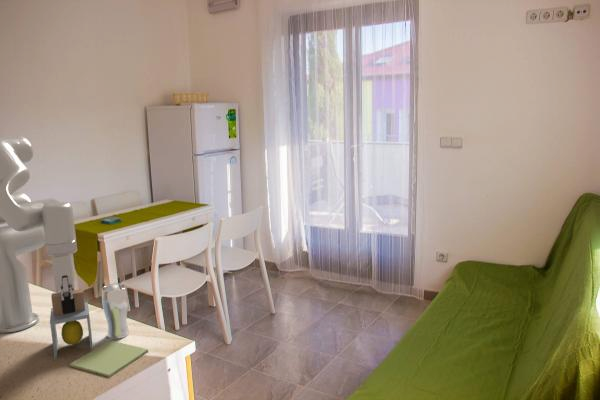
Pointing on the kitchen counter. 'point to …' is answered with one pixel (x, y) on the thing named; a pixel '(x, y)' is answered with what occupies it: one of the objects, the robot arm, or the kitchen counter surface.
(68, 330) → the lemon
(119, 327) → the beer glass
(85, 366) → the mat
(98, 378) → the kitchen counter surface
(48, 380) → the kitchen counter surface
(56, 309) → the cover
